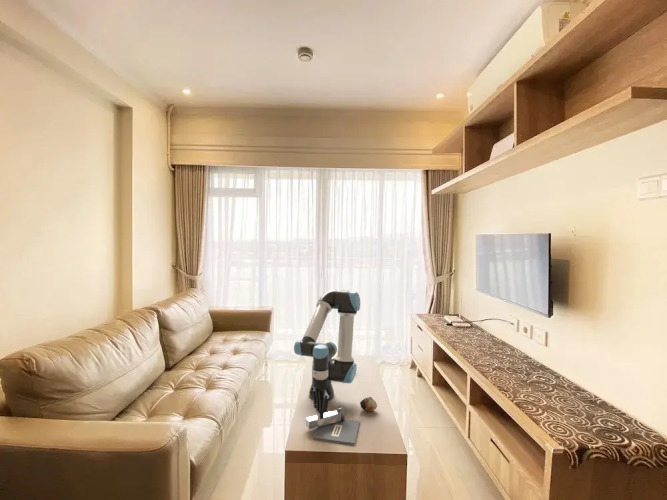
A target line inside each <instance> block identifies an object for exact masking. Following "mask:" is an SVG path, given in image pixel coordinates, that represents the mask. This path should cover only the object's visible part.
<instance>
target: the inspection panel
mask: <svg viewBox="0 0 667 500" xmlns="http://www.w3.org/2000/svg"><path fill="white" fill-rule="evenodd" d="M360 425H361V420H356V419H351V418H345V419H344V421H338V422H335V423H331V424H327V425H324V426H320V427H317V428H316V431H315V432H314V435H313V437H312V440H315V441H321V442H322V441H323V442H328V443H336V444H342V445H351V446H355V445H356V442H357V436H358V433H359V428H360Z"/></svg>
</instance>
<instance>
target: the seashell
mask: <svg viewBox="0 0 667 500" xmlns="http://www.w3.org/2000/svg"><path fill="white" fill-rule="evenodd" d="M359 404H360V408H361V409H362V410H364V411H366V412H373V411H375V410H376V409H377V407H378V404H377V401H376V400H374V398H373V397H372V396H367V397H365V398H363V399H362V400H360V402H359Z"/></svg>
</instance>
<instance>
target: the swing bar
mask: <svg viewBox="0 0 667 500" xmlns="http://www.w3.org/2000/svg"><path fill="white" fill-rule="evenodd" d="M345 411H346V408H345V406H342V405H339V406H337V407H336V409H334V410H331V411H330V410H329V411H328V412H327V411H326V412H324V418H323V424H321V425H317V414H316V415H312V416H308V417H305V426H306V429H308V430H309V431H310V430H313V429H317V428H318V427H320V426H324V425H327V424H331V423H335V422H338V421H344V419H346V418H345V413H346V412H345Z"/></svg>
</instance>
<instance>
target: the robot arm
mask: <svg viewBox="0 0 667 500" xmlns="http://www.w3.org/2000/svg"><path fill="white" fill-rule="evenodd" d="M315 307H316V308H315V311H314V313H313V315H312V317H311V320H310V322H309V324H308V326H307V328H306V331H305V333H304V334H303V337H302V339H301V340H296V341H295V343H294V346H293V351H294V354H295V355H298V356H301V357H310V358H312V366H311V373H312V374H311V385H310V388H309V390H308V397H309V398H310V399H312V400H313V407H314V409H315V410H316V415H317V425H321V424H323V418H324V413H326V412H327V411H328V406H329V401H331V400H332V399H333V398H334V396H335V390H334V387H333V384H332V382H337V383H343V384H352V383H353V381H354V379H355V377H356V374H357V368H358V367H357V364H356V363H355V359H354V357H353V356H352V355H353V354H352V352H353V339H354V321H355V316H356V315H357V313H358V311H360V310H361V297H360V294H359V293H358V292H357V291H354V290H344V289H343V290H342V289H331V290H328V291H327V292H325V293H324V294H322V296H320V298H318V301H317V303H316V305H315ZM332 310H337V313H338V315H339V321H338V322H339V326H338V337H337V340H338V341H337V345H336V343H334V342H332V341H329V342H326V343H323V342H317V340H318V337H319V335H320V334H321V331H322V328H323V326H324V325H325V321H326V319H327V317H328V314H329V313H330V312H332ZM336 354H337V356H336V357H335V360H332V357H334V355H336Z"/></svg>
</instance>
